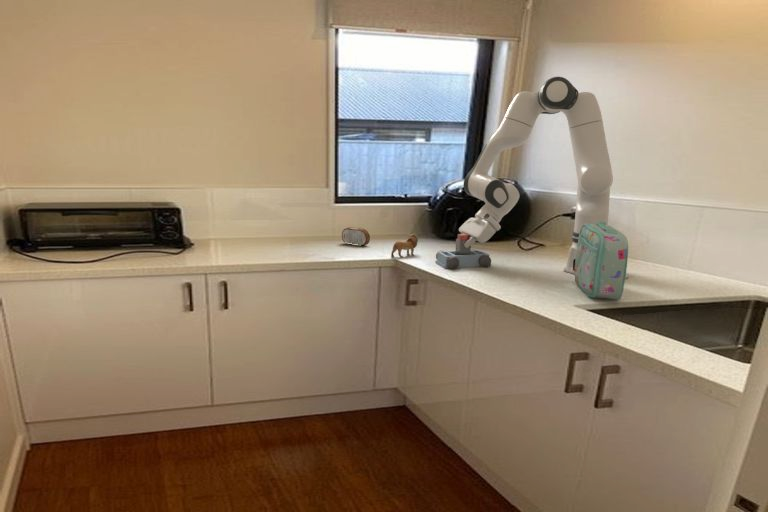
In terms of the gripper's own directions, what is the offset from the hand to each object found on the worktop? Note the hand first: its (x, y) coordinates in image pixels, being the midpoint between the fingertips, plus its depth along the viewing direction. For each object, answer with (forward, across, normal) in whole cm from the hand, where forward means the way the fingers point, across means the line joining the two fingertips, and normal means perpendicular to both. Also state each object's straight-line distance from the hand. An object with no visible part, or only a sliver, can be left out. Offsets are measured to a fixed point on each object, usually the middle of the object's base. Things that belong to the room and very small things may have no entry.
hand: (461, 245), depth 185 cm
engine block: (+3, 0, +4) cm, 5 cm away
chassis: (+5, 0, +6) cm, 8 cm away
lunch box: (-13, +45, +24) cm, 53 cm away
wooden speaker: (+29, -50, -18) cm, 61 cm away
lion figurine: (+18, -21, -6) cm, 28 cm away
